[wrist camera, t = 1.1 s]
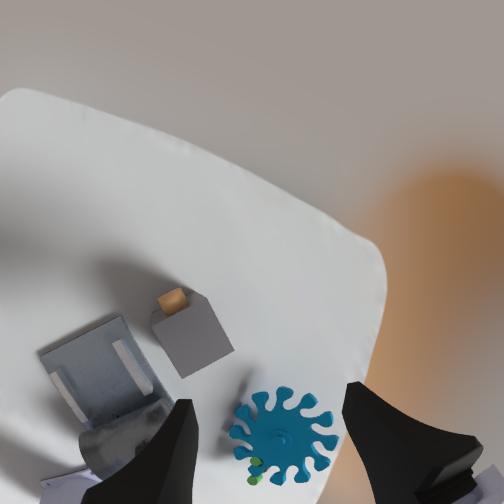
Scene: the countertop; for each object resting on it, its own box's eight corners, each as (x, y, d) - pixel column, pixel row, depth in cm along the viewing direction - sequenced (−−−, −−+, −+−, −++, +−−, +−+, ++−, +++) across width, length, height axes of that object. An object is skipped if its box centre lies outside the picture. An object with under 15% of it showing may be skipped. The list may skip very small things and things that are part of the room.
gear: (262, 366, 23) (360, 427, 18) (283, 363, 28) (363, 412, 23) (203, 451, 22) (284, 511, 17) (231, 438, 27) (301, 487, 22)
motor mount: (115, 458, 19) (110, 502, 13) (41, 355, 18) (9, 381, 12) (191, 425, 22) (205, 468, 16) (121, 314, 21) (107, 332, 15)
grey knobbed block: (175, 353, 23) (182, 378, 17) (145, 299, 22) (141, 309, 16) (216, 332, 24) (234, 350, 18) (188, 278, 23) (198, 280, 18)
